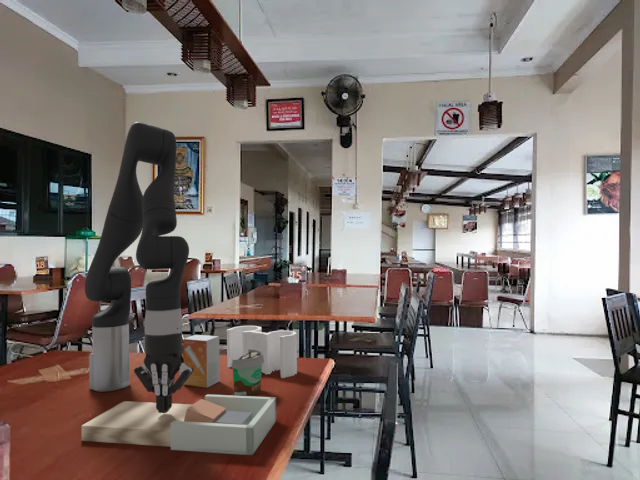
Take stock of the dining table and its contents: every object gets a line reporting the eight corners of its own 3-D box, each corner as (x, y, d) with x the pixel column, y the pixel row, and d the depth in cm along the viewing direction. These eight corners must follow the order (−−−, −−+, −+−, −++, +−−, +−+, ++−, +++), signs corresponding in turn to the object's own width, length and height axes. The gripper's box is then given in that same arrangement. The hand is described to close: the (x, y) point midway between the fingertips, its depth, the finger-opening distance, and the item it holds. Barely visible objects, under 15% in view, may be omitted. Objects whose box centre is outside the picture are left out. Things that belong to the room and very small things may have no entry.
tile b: (213, 437, 88) (212, 421, 88) (225, 424, 93) (225, 410, 94) (241, 439, 86) (241, 423, 86) (252, 426, 92) (252, 412, 92)
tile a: (183, 422, 89) (187, 408, 89) (197, 411, 95) (201, 398, 95) (209, 433, 88) (213, 418, 88) (222, 421, 94) (226, 408, 93)
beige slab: (81, 440, 88) (81, 425, 88) (124, 414, 102) (124, 401, 102) (174, 446, 85) (173, 431, 85) (205, 418, 99) (204, 405, 99)
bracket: (304, 371, 135) (303, 331, 135) (283, 379, 127) (282, 337, 127) (246, 360, 149) (245, 324, 150) (224, 366, 142) (223, 329, 142)
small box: (182, 385, 123) (182, 338, 123) (196, 378, 129) (196, 334, 129) (207, 388, 120) (206, 340, 120) (220, 381, 126) (219, 335, 126)
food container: (255, 401, 109) (254, 361, 109) (232, 400, 110) (231, 360, 110) (270, 386, 121) (270, 349, 121) (249, 385, 122) (249, 348, 122)
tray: (170, 449, 84) (170, 423, 84) (207, 416, 100) (207, 394, 100) (252, 455, 81) (252, 428, 81) (276, 420, 97) (276, 397, 97)
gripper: (124, 332, 91) (125, 417, 91) (184, 334, 89) (185, 420, 89) (144, 326, 98) (145, 403, 98) (200, 327, 96) (201, 406, 96)
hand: (164, 411), depth 93 cm, fingers closed
